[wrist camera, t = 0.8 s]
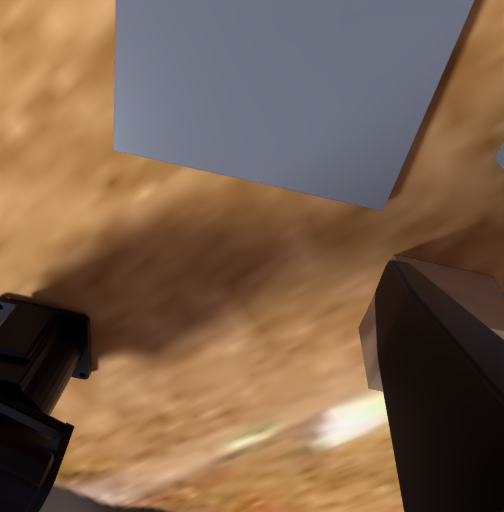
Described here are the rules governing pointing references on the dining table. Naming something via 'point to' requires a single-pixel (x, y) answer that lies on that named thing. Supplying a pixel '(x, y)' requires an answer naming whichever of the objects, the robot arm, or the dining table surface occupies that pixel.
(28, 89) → the dining table surface
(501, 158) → the blue brick
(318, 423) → the dining table surface
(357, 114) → the build plate
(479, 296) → the walnut brick
